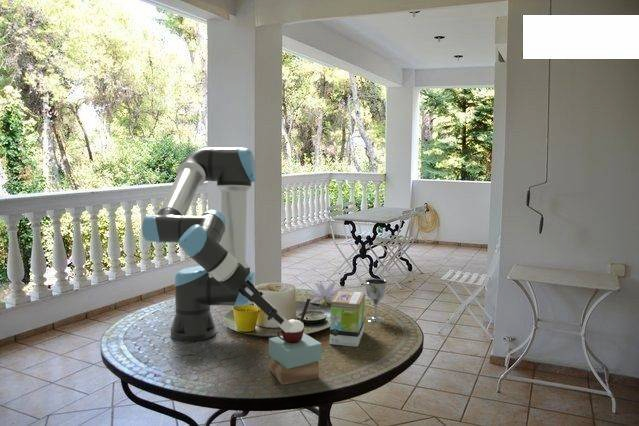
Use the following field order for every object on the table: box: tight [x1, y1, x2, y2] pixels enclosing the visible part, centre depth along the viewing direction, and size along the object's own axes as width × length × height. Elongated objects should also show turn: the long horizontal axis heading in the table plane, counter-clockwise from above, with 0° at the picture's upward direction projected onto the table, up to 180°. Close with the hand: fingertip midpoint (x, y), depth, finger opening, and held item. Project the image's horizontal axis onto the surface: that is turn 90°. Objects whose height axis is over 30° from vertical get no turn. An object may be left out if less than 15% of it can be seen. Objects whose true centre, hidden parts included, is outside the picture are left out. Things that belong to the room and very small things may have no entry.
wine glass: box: [365, 278, 388, 324], centre depth 193 cm, size 8×8×15 cm
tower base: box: [268, 355, 320, 386], centre depth 146 cm, size 11×11×5 cm
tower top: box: [268, 332, 323, 369], centre depth 145 cm, size 11×11×5 cm
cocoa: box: [276, 297, 311, 343], centre depth 144 cm, size 10×6×12 cm, turn 89°
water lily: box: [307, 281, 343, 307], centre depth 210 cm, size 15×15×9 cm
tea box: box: [329, 290, 366, 348], centre depth 173 cm, size 15×10×15 cm
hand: (281, 321), depth 143 cm, fingers open, 13 cm apart
